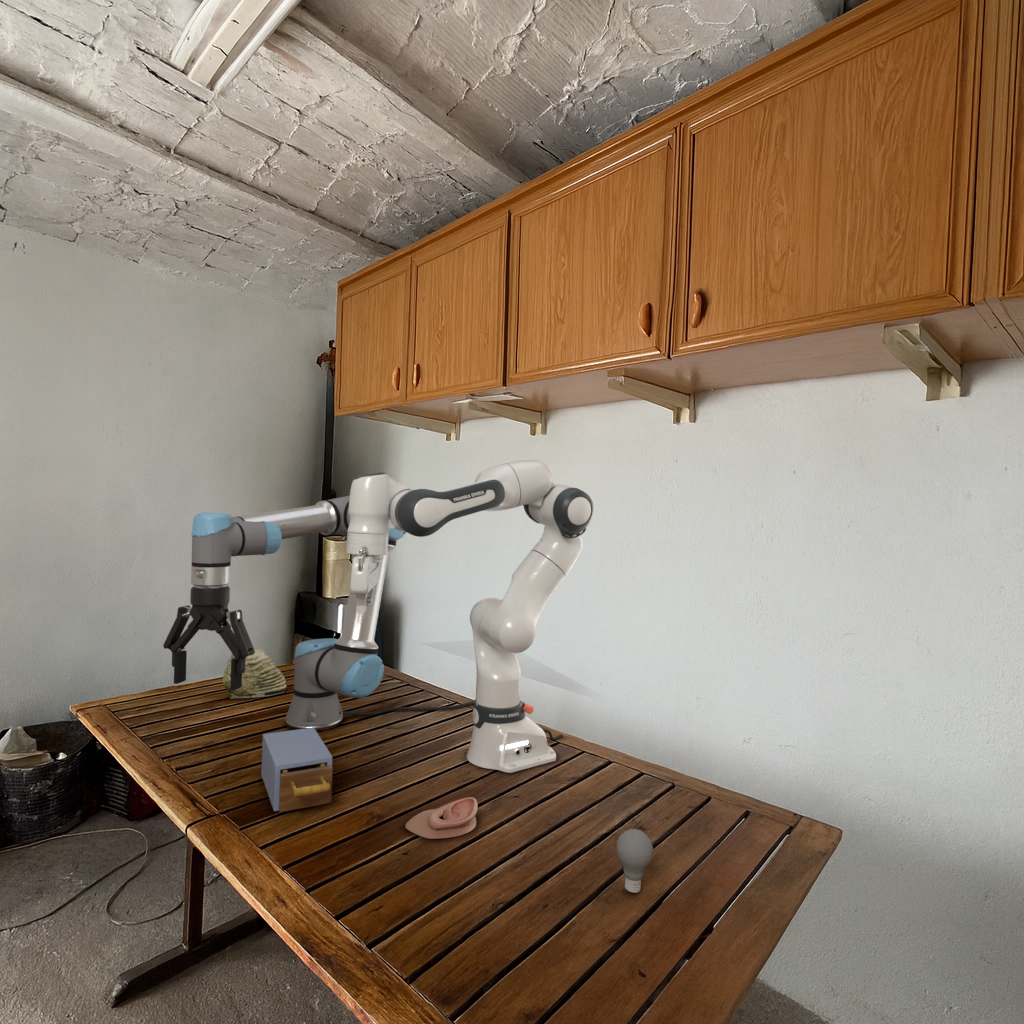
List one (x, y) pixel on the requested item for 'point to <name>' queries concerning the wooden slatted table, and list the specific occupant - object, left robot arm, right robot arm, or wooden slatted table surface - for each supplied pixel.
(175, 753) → the wooden slatted table surface
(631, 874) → the light bulb
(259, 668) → the fossil
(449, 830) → the anatomical model
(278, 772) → the cabinet
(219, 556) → the left robot arm
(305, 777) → the drawer
